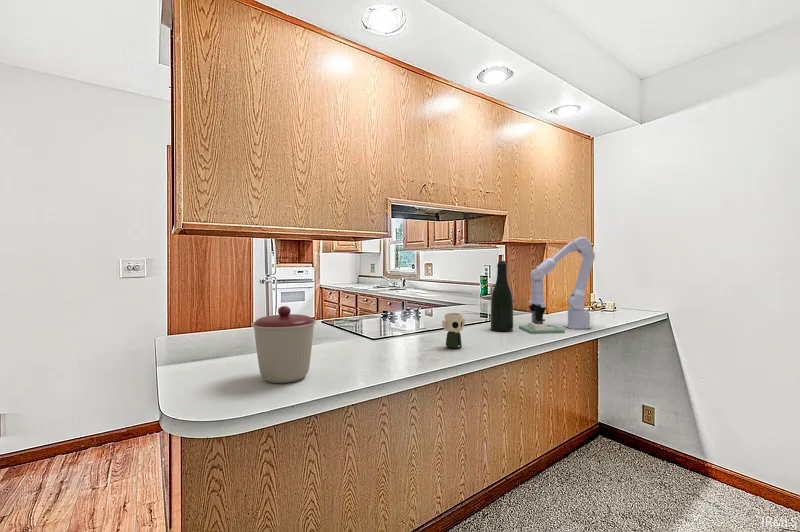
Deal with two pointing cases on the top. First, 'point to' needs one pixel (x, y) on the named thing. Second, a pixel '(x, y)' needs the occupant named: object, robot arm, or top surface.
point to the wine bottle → (501, 302)
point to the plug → (536, 319)
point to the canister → (284, 345)
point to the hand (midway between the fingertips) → (537, 320)
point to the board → (541, 329)
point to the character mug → (453, 329)
